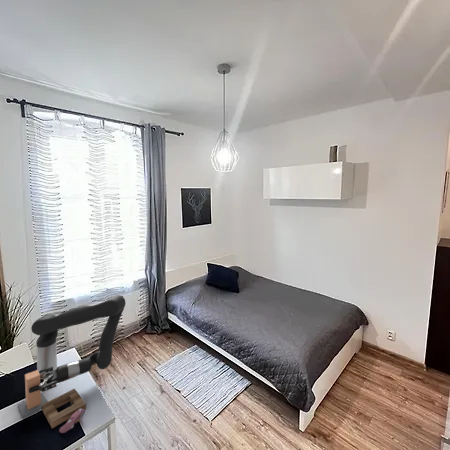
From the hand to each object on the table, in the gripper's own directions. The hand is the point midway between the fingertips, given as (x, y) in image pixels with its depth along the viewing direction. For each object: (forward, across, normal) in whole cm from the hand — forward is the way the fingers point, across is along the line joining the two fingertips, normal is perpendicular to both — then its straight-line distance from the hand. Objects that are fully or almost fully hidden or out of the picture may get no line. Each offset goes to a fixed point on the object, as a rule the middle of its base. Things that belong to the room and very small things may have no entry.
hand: (28, 385), depth 120 cm
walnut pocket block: (-13, +11, +12) cm, 20 cm away
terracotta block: (-2, 0, +10) cm, 11 cm away
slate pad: (-2, 0, +12) cm, 12 cm away
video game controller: (-14, +23, +12) cm, 29 cm away
